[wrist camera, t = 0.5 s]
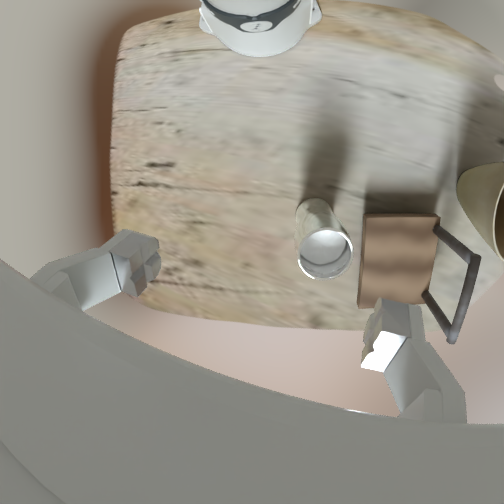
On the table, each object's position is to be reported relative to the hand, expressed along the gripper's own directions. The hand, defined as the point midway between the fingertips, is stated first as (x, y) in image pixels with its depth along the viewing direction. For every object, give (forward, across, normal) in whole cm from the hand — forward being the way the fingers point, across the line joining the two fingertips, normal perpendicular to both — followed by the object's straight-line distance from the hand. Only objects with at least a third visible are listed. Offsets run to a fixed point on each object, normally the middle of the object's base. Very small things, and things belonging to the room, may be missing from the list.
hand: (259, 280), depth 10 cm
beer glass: (+35, +1, +15) cm, 38 cm away
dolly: (+37, -14, +19) cm, 44 cm away
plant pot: (+43, -27, +4) cm, 51 cm away
